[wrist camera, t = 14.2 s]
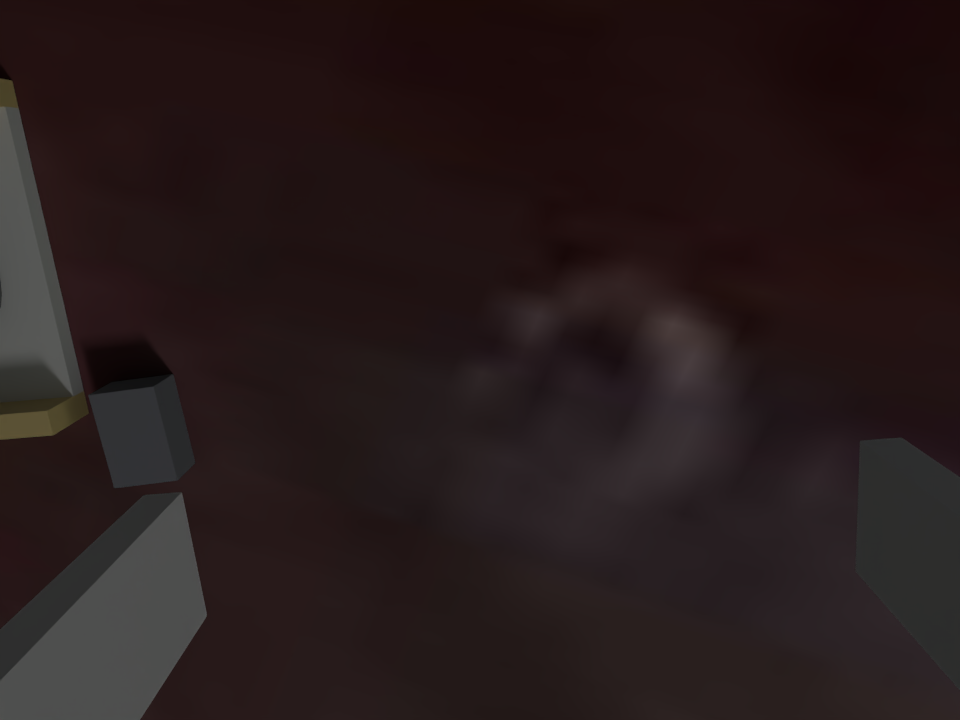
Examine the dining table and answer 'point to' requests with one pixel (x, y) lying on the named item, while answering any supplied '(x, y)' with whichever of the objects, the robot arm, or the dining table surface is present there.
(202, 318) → the dining table surface
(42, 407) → the dock bay
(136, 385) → the gray rectangular block
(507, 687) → the dining table surface
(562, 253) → the dining table surface
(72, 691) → the robot arm
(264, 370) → the dining table surface
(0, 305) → the beverage bottle
